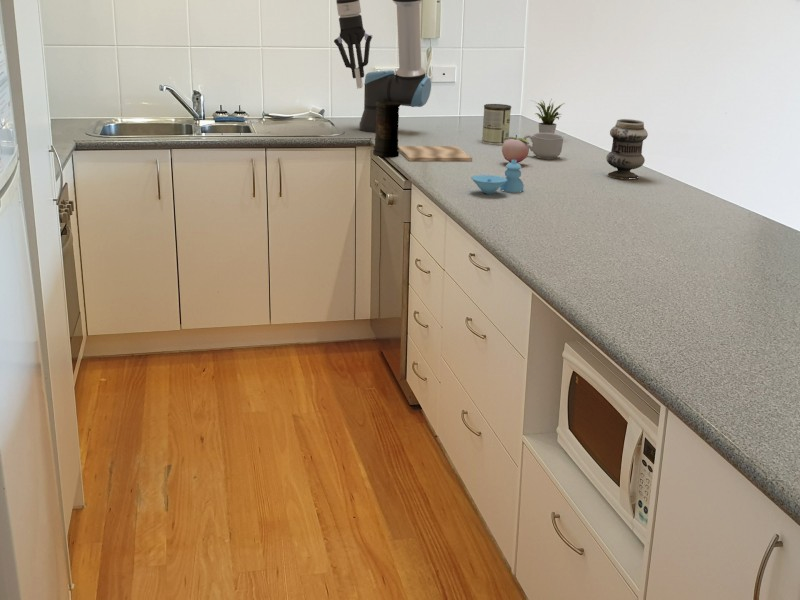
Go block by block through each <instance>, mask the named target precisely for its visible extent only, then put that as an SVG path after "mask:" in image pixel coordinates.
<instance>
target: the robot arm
mask: <svg viewBox="0 0 800 600" xmlns="http://www.w3.org/2000/svg"><path fill="white" fill-rule="evenodd" d="M335 2H336V8H337V14H338V16H339V18H338V22H339V29H340V32H339V36H338V37H337V38H335V39H334V40H333V42H334V43H335V45H336V46H337V48H338V51H339V54H340V55H341V59H342V61H343V63H344V66H345V67H346V68H349V69H351V75H352V78H353V79H355V82H356V83H355V84H356V89H358V90H359V89H363V87H364V91H363V92H364V93H363V94H364V95H363V96H364V97H363V99H364V103H363V105H364V106H363V112H362V115H361V117H360V122H359V125H358V128H359V130H360V131H363V132H369V133H376V114H377V109H376V107H377V106H376V102H378V101H391V102H398V103H400V106H402V107H403V106H404V107H412V108H422V107H423V106H425V105H426V104H427V103H428V101H429V98H430V95H431V92H432V81H431V78H430V77H428V76H426V70H425V69H424V68H423V67H422V49H421V47H422V46H421V45H422V44H421V14H420V13H421V12H420V5H421V3H422V2H423V0H392V2H393V3H394V4H395V5H396V20H397V21H396V22H397V23H396V25H397V44H398V45H397V47H398V48H397V50H398V67H399V68H397V70H396V71H394V70H392V69H391V70H390V69H389V70H379V71H371V72H370V71H369V72H367V73H366V74H365V70H364V68H365V67H366V66H367V65H368V64H369V56H370V48H371V42H372V39H373V35H372V34H369V33H367V32H366V30H365V29H364V26H363V17H362V15H361V13H362V8H361V2H360V0H335ZM363 39H364V41H365V44H364V53H363V54H364V55H363V54H362V47H361V44H362V41H363ZM343 42H344V43H345V44H346V45H347V46H346V47H347V49H348V55H347V52H346V50H345V47H344V45H343ZM354 46H355V50H356V51H354ZM355 52H356V57H355ZM348 56H349V58H348ZM356 58H357V65H358V66H357V65H356ZM363 78H364V84H363Z"/></svg>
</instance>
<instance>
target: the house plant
mask: <svg viewBox="0 0 800 600" xmlns="http://www.w3.org/2000/svg"><path fill="white" fill-rule="evenodd" d="M552 100H553V98H551V99H550V101H549V104H548V106H547V107H546V104H545V101H544V100H539V103H538V102H536V101H534V100H532V99H531V100H530V101H532V102H535V103H536V104H537V105H535V108H537V109H538V110H539V112H540V113H537V112H536V113H535V115H536V116H537V117H538V119H541V122H538V133H553V134H556V128H557V125H558V124H557V123H555V120H556V119H557V120H560V118H562V116H561V113H559V112H558V110H559V109H560V108H561V107H562V106H563V105H565V103H566V102H563V103H561V104H560V105H558V106H557V107H556V108H554V103H555V101H554V102H552ZM551 102H552V103H551ZM553 109H554V110H553Z"/></svg>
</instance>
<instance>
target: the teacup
mask: <svg viewBox="0 0 800 600" xmlns="http://www.w3.org/2000/svg"><path fill="white" fill-rule="evenodd" d="M564 137H565V136H563V135H562V134H559V133H558V134H557V133H554V134H553V133H539V132H535V133H534V134H533V135H532V134H526V135H524V137H523V139H525V140H527V138H530V140H531V143H532V145H530V144H528V146H529V151H531V152H532V153H533V154H534V156H535V157H536V158H538V159H543V160H555V159H556V158H557V157H559V156H561V153H562V149H563V144H564V143H563V142H564Z"/></svg>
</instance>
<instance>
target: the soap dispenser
mask: <svg viewBox="0 0 800 600" xmlns="http://www.w3.org/2000/svg"><path fill="white" fill-rule="evenodd" d="M516 162H517V160H512V161H511V162H508V163H507V164H506V165H505V168H506V170H505V171H504V175H505V177H504V176H500V175H492V174H480V175H479V174H478V175H474V176H470V177H471V180H472V181H473V182H474V184H475V185H476V186H477V187H478V188H479V189H480V191H481V192H482V193H483V194H484V193H487V194H486V195H493V194H494V193H496V192H497V191H498V190H499V189H502V190H504V191H510V192H509V193H511V192H519V193H521V192H520V191H523V192H524V185H525V184H524V183H523V180H522V179H521V176H522V171H521V169H522V165H521V164H520V163H516ZM504 191H503V192H504ZM492 193H493V194H492Z"/></svg>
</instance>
